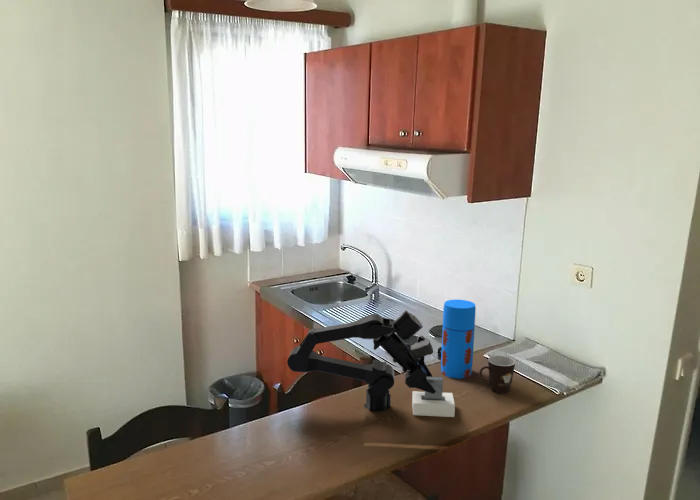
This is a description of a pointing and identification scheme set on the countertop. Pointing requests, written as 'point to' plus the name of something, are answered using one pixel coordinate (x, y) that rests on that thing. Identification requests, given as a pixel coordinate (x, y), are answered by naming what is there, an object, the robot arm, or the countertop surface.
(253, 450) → the countertop surface
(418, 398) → the slot box
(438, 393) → the grey rectangular block
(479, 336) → the countertop surface
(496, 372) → the coffee mug
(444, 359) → the thermos
